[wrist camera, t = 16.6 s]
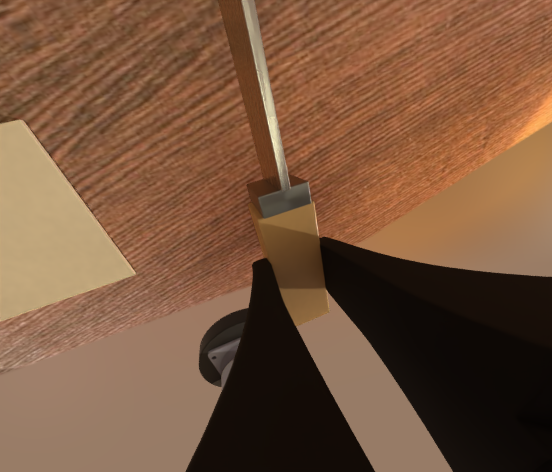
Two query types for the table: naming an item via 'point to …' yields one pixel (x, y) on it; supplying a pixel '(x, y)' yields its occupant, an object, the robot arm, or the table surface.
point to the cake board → (46, 231)
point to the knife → (276, 177)
